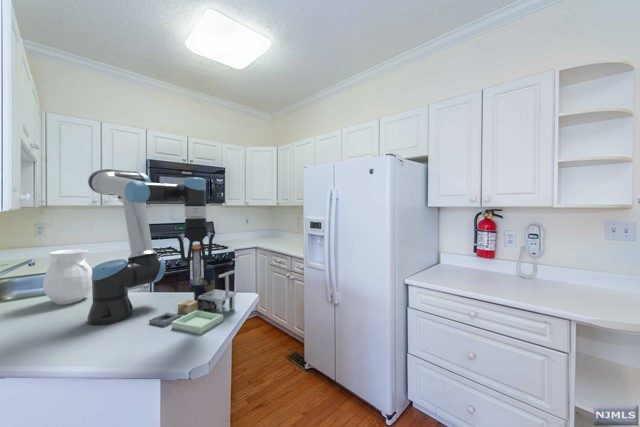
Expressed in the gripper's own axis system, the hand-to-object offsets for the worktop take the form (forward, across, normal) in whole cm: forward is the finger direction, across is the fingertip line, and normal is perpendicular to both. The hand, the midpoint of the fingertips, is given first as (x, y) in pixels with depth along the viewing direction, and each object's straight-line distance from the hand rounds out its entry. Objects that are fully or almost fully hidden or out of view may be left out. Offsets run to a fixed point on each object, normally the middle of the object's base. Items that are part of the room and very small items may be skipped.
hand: (197, 277), depth 103 cm
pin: (+2, 0, 0) cm, 2 cm away
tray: (+19, 0, 0) cm, 19 cm away
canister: (+19, +3, +28) cm, 34 cm away
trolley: (+19, +8, +11) cm, 23 cm away
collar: (+19, -12, +9) cm, 24 cm away
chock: (+19, -4, +17) cm, 26 cm away
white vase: (+18, -57, +56) cm, 82 cm away
